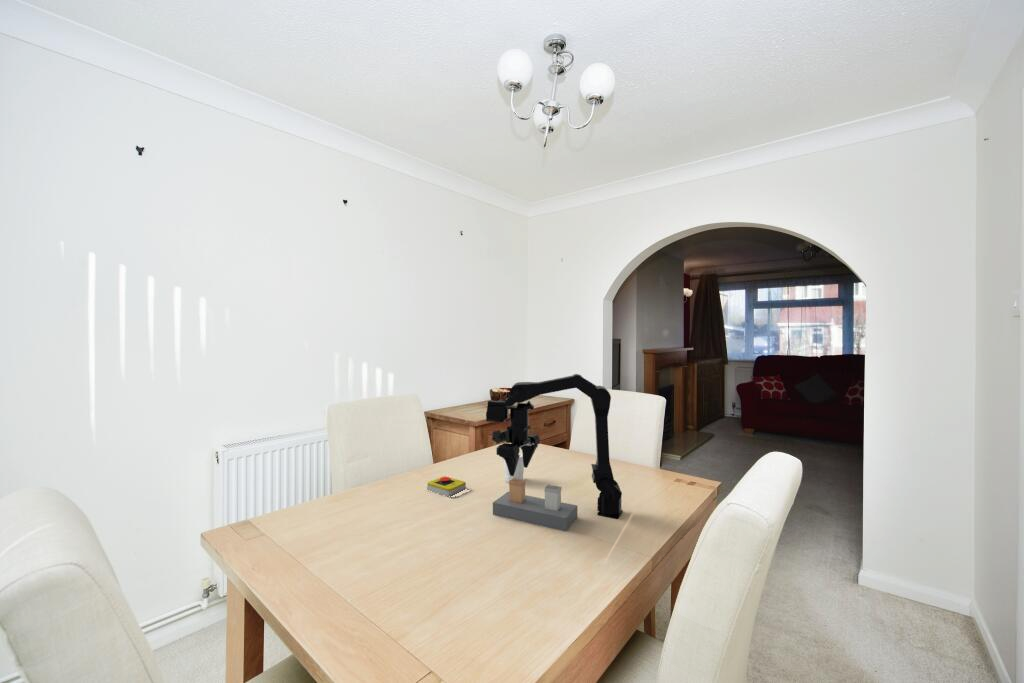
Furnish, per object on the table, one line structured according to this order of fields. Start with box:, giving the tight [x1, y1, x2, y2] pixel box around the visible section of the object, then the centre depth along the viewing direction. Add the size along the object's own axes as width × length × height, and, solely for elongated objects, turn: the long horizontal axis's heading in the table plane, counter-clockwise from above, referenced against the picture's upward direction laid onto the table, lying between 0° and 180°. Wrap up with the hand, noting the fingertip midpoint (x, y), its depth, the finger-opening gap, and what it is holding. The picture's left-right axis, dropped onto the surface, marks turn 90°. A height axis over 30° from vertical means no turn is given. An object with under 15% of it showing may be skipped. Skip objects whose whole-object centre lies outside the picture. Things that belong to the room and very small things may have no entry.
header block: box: [492, 491, 578, 532], centre depth 134 cm, size 24×10×4 cm, turn 63°
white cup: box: [503, 452, 525, 484], centre depth 165 cm, size 8×8×10 cm
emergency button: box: [426, 475, 467, 499], centre depth 156 cm, size 9×4×15 cm
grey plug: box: [544, 484, 562, 511], centre depth 131 cm, size 4×3×10 cm
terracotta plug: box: [508, 478, 527, 504], centre depth 137 cm, size 4×3×10 cm
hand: (518, 471), depth 139 cm, fingers open, 9 cm apart
